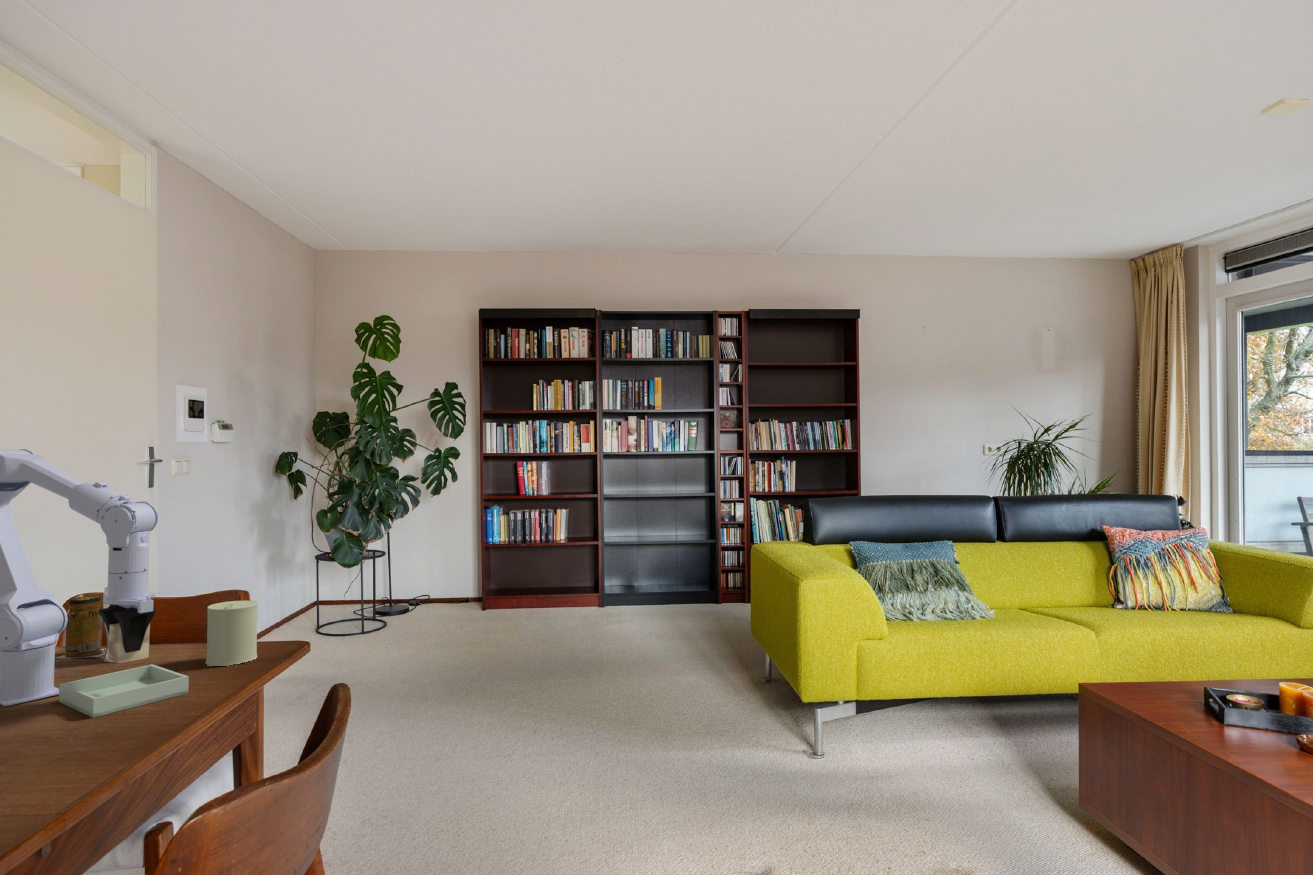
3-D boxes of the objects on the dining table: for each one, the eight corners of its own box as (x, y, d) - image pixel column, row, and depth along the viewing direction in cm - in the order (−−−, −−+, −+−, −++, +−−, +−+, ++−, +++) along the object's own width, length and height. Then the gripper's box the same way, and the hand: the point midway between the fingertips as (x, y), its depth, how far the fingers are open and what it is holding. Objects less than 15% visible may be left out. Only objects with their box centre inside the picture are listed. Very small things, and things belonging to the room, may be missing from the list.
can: (200, 668, 139) (202, 608, 140) (211, 656, 148) (212, 599, 148) (253, 664, 143) (254, 605, 143) (260, 652, 151) (261, 596, 152)
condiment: (78, 650, 153) (80, 594, 153) (119, 649, 154) (121, 594, 154) (53, 659, 146) (54, 601, 146) (96, 658, 147) (98, 600, 147)
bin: (58, 701, 120) (59, 684, 120) (151, 680, 132) (152, 664, 132) (93, 717, 113) (93, 698, 113) (188, 693, 125) (188, 676, 125)
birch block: (108, 659, 122) (109, 624, 123) (137, 653, 126) (138, 620, 126) (119, 663, 120) (121, 627, 120) (148, 657, 124) (150, 623, 124)
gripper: (173, 571, 123) (171, 649, 122) (136, 565, 130) (133, 638, 130) (126, 577, 117) (124, 659, 116) (90, 570, 124) (87, 647, 124)
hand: (126, 649), depth 123 cm, fingers closed on birch block, 4 cm apart
